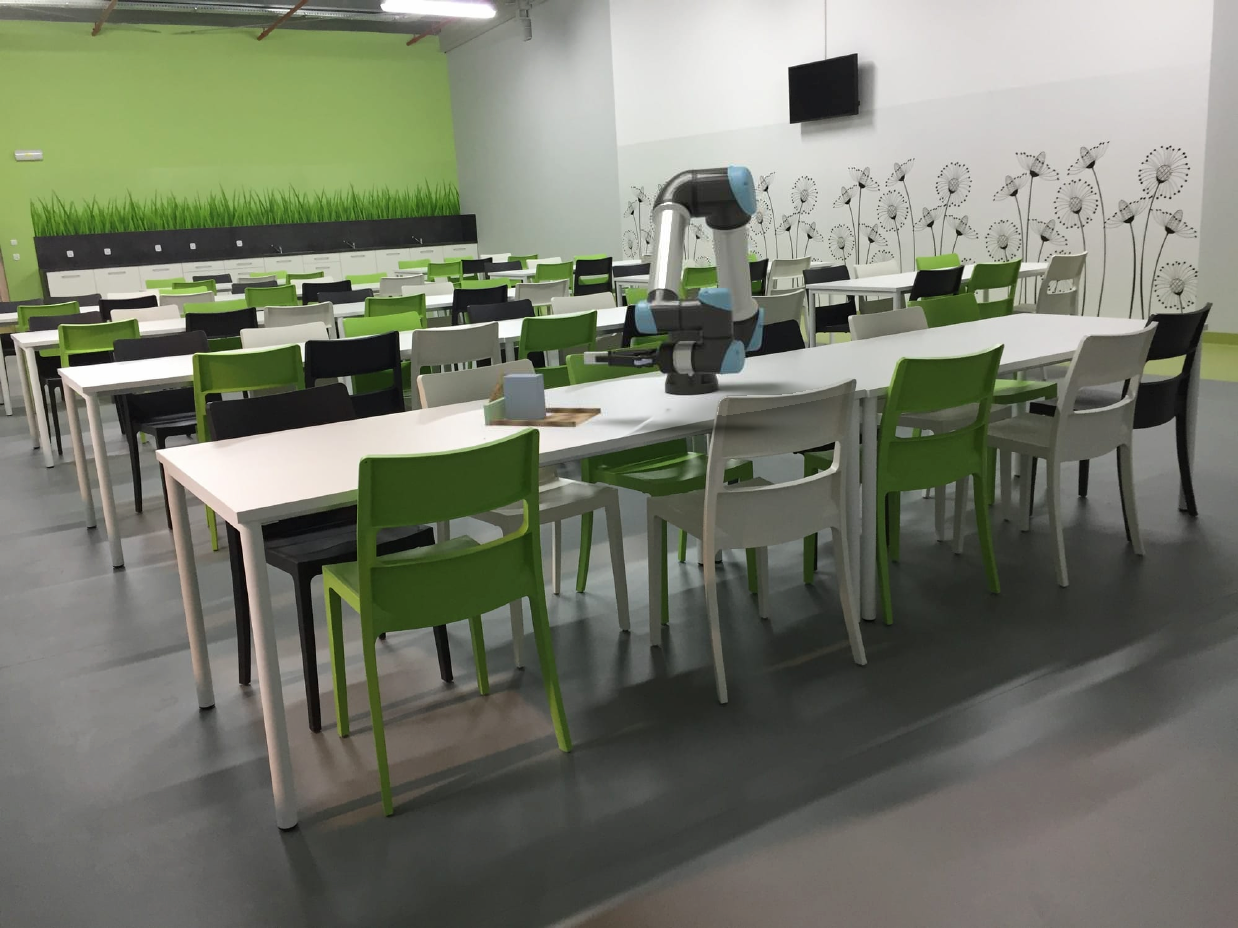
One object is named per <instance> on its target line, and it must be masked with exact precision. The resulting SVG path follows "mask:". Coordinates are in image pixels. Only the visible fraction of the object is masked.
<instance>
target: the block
mask: <svg viewBox="0 0 1238 928" xmlns="http://www.w3.org/2000/svg"><path fill="white" fill-rule="evenodd" d="M506 375H507V376H504V377H503V387H504V398H505V409H506V419H507V420H533V421H539V420H541V419H544V418H546V416H547V413H546V408H547V406H546V397H545V396H546V395H545V385H544V383H545V381H544V374H543V373H510V374H506Z"/></svg>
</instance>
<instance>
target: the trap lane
mask: <svg viewBox="0 0 1238 928" xmlns="http://www.w3.org/2000/svg"><path fill="white" fill-rule="evenodd" d="M601 411H602V408H601V407H546V414H550V415H546V418H544V419H541V420H539V421H533V420H507V419H506V418H505V419H503V420H489V423H490V425H489V426H496V427H497V426H501V427H502V426H504V427H505V426H506V427H508V426H509V427H549V428H550V427H552V428H553V427H554V428H555V427H556V428H575V427H577V426H579V425H581V424H583V423H585V422H587V421H589V420H590V419H592V418H595V417H596V416H598V415H600V414H601V413H602V412H601Z"/></svg>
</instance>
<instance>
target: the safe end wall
mask: <svg viewBox="0 0 1238 928" xmlns="http://www.w3.org/2000/svg"><path fill="white" fill-rule="evenodd" d="M483 414H484V423H485V424H484V425H485V426H491V425H490V423H489V420H503V419H505V418H506V409H505V398H504V397H503V398H500V399H498V400H495V401H493V402H490V403H489V402H488V403H485V404H483Z"/></svg>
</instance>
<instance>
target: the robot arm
mask: <svg viewBox="0 0 1238 928" xmlns="http://www.w3.org/2000/svg"><path fill="white" fill-rule="evenodd" d="M754 182H755V181H754V178H753V175H752V172H751V170H750V169H749V168H748V167H745V166H732V165H729V166H726V167H713V168H700V169H687V170H683V171H681V172H679V173H677V174H676V175H674V176H672V177H671V178H670V179H669V180H668V181H667V182H665V184H664V185H663V186H662V188H661V189H660V191H659V192H658V194H657V196H656V198H655V200H654V203H653V206H652V211H651V212H652V213H651V221H652V224H654V230H653V237H652V238H653V240H652V248H651V255H650V256H651V257H650V258H651V259H650V266H649V267H650V268H649V274H648V275H649V276H648V283H647V285H648V286H647V292H646V293H647V294H646V299H643V300H639V301H637V302H636V305H635V309H634V319H635V320H634V321H635V326H636V329H637V330H638V332H639V333H641V334H655V335H656V334H665V333H666V334H668V335H667V336H668V341H662V342H661V343H660V344H659V346H658V347H654V348H653V347H650V348H639V349H636V348H635V349H618V350H616V351H615V350H614V351H612V350H610V349H609V350H607V351H585V352H583V362H584V365H607V366H608V367H620V368H621V367H623V368H635V369H642V368H644V367H645V368H647V369H649V368H654V366H658V368H659V370H658V371H660V372H661V374H663V375H666V377H665V381H664V391H665V393H667V394H670V395H671V394H672V395H700V394H705V393H706V394H707V393H712V392H715V391H718V390H719V379H718V377H717V375H728V374H729V375H732V374H739V373H741V372H742V371H743V369H744V366H745V363H746V352H749V351H757V350H759V349H760V348H761V346H762V339H763V328H764V327H763V326H764V315H765V309H764V308H763V307H759V305H758V302H757V300H756V299H755V298H754V297H752V295H753V294H752V284H751V272H750V259H749V247H748V244H749V243H748V234H747V233H748V232H747V231H748V230H747V226H748V224H749V223H751V220H752V215H755V214H756V213H757V211H758V207H757V203H758V202H757V197H756V196H757V195H756V194H757V193H756V188H755V187H756V186H755V183H754ZM694 218H696V219H699V218H704V219H705V224H706V226H707V227H708V229H711V231H712V238H713V239H712V240H713V246H714V247H713V248H714V256H715V267H716V276H717V277H716V278H717V286H718V287H711V288H702V289H700V290H698V294H697V295H698V296H697V297H690V298H680V292H681V284H682V275H683V274H682V273H683V272H682V271H683V263H684V249H685V239H686V230H687V229H686V228H687V227H688V226H689V225H690V223H691V219H694Z"/></svg>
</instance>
